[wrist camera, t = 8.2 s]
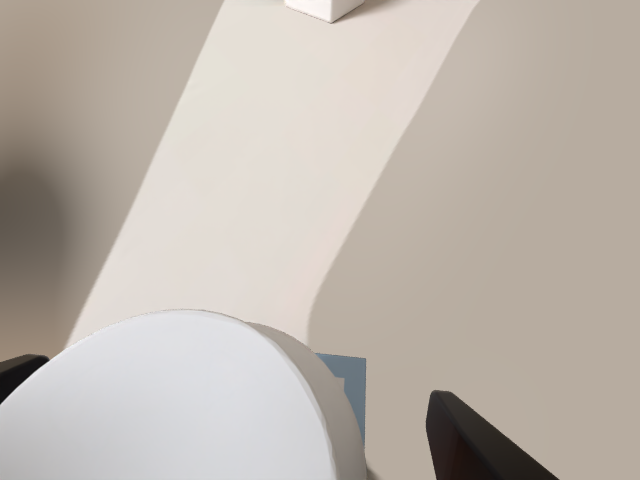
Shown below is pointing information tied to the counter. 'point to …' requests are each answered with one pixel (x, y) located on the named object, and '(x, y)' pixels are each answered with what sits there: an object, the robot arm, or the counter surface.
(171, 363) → the pill bottle
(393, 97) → the counter surface
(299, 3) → the medicine bottle
